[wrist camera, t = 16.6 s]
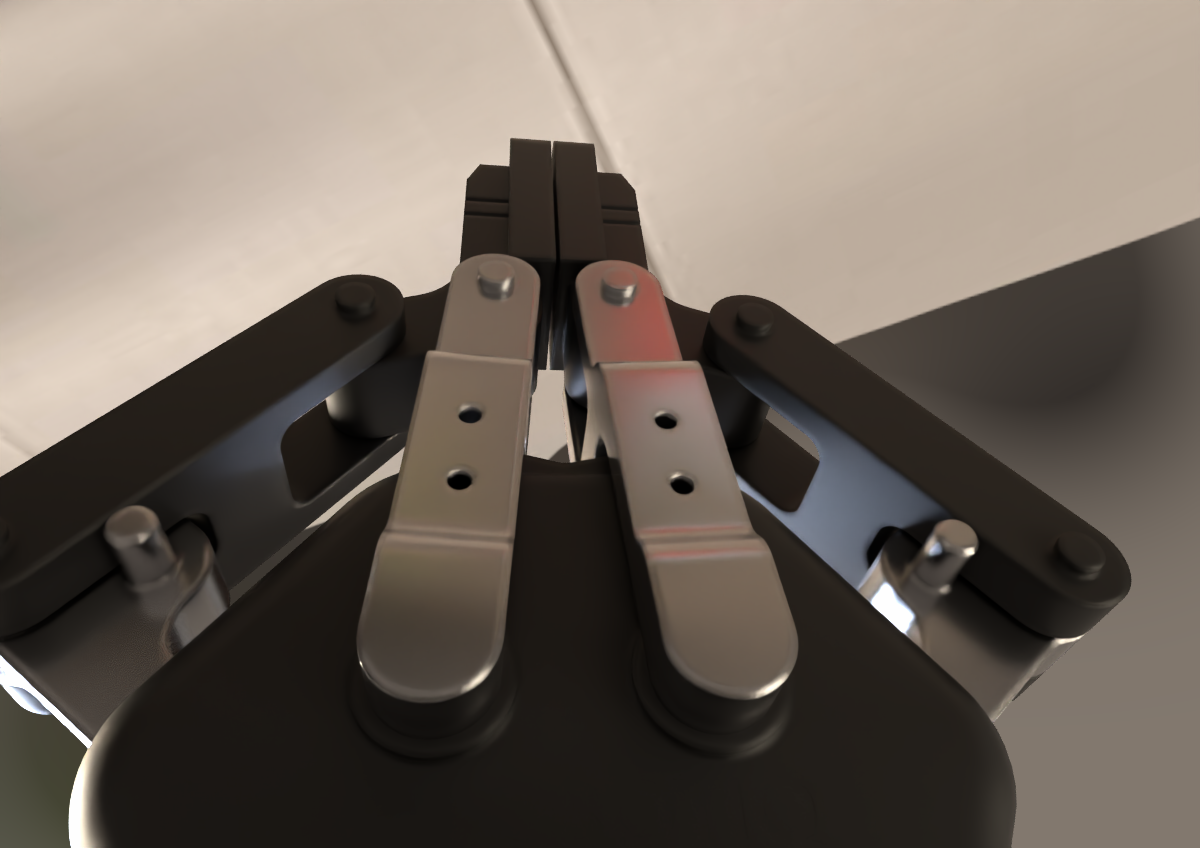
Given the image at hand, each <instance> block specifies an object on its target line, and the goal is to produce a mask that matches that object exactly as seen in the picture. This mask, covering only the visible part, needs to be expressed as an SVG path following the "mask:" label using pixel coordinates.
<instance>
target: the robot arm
mask: <svg viewBox="0 0 1200 848" xmlns="http://www.w3.org/2000/svg"><path fill="white" fill-rule="evenodd" d="M548 343H549V354H550V370H564V389H563V398H562V410H563V417H564V424H565V430H566V437H567V444H568V451H569V457H570V463H560V462H555V461H550V460H546V459H542V458H537V457H533V456H528V455H527V446H528V435H529V425H530V414H531V403H532V395H533V393H534V392H535V389H536V386H537V375H538V370H546V366H547V354H548ZM324 399H325V400H324ZM323 400H324V401H323ZM321 401H323V402H321ZM320 402H321V403H320ZM319 403H320V404H319ZM317 404H318V405H317ZM316 405H317V406H316ZM314 406H316V407H314ZM313 407H314V408H313ZM769 407H771V408H773V409H774V410H775V411H776V412H778V413H779V414H780V415H781V416H783V417H784V418H785V419H787V420H788V421H789V422H791V423H792V424H793V425H794V426H796V427H797V428H798V429H800V430H801V431H802V432H803V433H805V434H806V435H807V436H808V437H809V438H810V439H811V440H812V441H813V442H814V444H815V446H816V447H817V450H818V452H819V457H820V461H818V460H817V459H816V458H814V457H813V456H812V455H811V454H810V453H808V452H807V451H806V450H804V449H803V448H802V447H801V446H799V445H798V444H797V443H796V442H794V441H793V440H792V439H791V438H789V437H788V436H787V435H785V434H784V433H783V432H782V431H781V430H779V429H778V428H777V427H775V426H774V425H773V424H772V423H770V422H769V421H768V420H767V419H765V418H766V415H767V413H768V410H769ZM312 408H313V409H312ZM310 409H311V410H310ZM309 410H310V411H309ZM307 411H309V412H307ZM306 412H307V413H306ZM305 413H306V414H305ZM303 414H304V415H303ZM302 415H303V416H302ZM300 416H302V417H300ZM299 417H300V418H299ZM298 418H299V419H298ZM296 419H297V420H296ZM295 420H296V421H295ZM404 447H405V449H404V454H403V458H402V463H401V467H400V471H399V473H397V474H395V475H392V476H390V477H387V478H385V479H383V480H381V481H379V482H377V483H375V484H373V485H371V486H370V487H368V488H366V489H365V490H363V491H362V492H361V493H359V494H358V495H356V496H355V497H354V498H352V499H351V500H350V501H349V502H348V503H346V504H345V505H344V506H343V507H342V508H341V509H340V510H338V511H337V512H336V513H335V514H334V515H333V516H332V517H331V518H329V519H328V520H327V521H326V522H325V523H324V524H323V525H322V526H321V527H319V528H318V529H317V530H316V531H315V532H314V533H313V534H311V535H310V536H309V537H308V538H307V539H306V540H305V541H303V543H302V544H300V545H299V546H298V547H297V548H296V549H294V550H293V551H292V552H291V553H290V554H289V555H288V556H287V557H285V558H284V559H283V560H282V561H281V562H280V563H279V564H278V565H277V566H275V567H274V568H273V569H272V570H271V571H270V572H268V573H267V574H266V575H265V576H264V577H263V578H262V579H261V580H259V581H258V582H257V583H256V584H255V585H254V586H253V587H252V588H250V589H249V590H248V591H247V592H246V593H245V594H244V595H242V597H240V598H239V599H238V600H237V601H236V602H235V603H233V604H232V605H231V606H230V593H229V591H230V590H231V589H232V588H233V587H234V586H236V585H237V584H238V583H239V582H241V581H242V580H243V579H244V578H245V577H247V576H248V575H249V574H250V573H251V572H253V571H254V570H255V569H256V568H257V567H259V566H260V565H261V564H262V563H264V562H265V561H266V560H267V559H269V558H270V557H271V556H272V555H273V554H275V553H276V552H277V551H278V550H280V549H281V548H282V547H283V546H284V545H286V544H287V543H288V542H289V541H291V540H292V539H293V538H294V537H295V536H296V535H298V534H299V533H300V532H301V531H303V530H304V529H305V528H306V527H308V526H309V525H310V524H311V523H312V522H314V521H315V520H316V519H317V518H319V517H320V516H321V515H322V514H323V513H325V512H326V511H327V510H328V509H330V508H331V507H332V506H333V505H334V504H336V503H337V502H338V501H339V500H341V499H342V498H343V497H344V496H345V495H347V494H348V493H349V492H350V491H352V490H353V489H354V488H355V487H356V486H358V485H359V484H360V483H361V482H362V481H364V480H365V479H366V478H367V477H369V476H370V475H371V474H372V473H373V472H375V471H376V470H377V469H378V468H380V467H381V466H382V465H383V464H384V463H386V462H387V461H388V460H389V459H391V458H392V457H393V456H394V455H395V454H397V453H398V452H399V451H400V450H401V449H403V448H404ZM1130 587H1131V573H1130V570H1129V567H1128V564H1127V562H1126V560H1125V558H1124V557H1123V555H1122V554H1121V552H1120V551H1119V550H1118V548H1117V547H1116V546H1115V545H1114V544H1113V543H1112V542H1111V541H1110V540H1109V539H1108V538H1107V537H1106V536H1105V535H1103V534H1102V533H1101V532H1099V531H1098V530H1097V529H1095V528H1094V527H1092V526H1091V525H1090V524H1088V523H1087V522H1085V521H1084V520H1083V519H1081V518H1080V517H1078V516H1077V515H1075V514H1074V513H1072V512H1071V511H1070V510H1068V509H1067V508H1065V507H1064V506H1063V505H1061V504H1060V503H1058V502H1057V501H1056V500H1054V499H1053V498H1051V497H1050V496H1048V495H1047V494H1046V493H1044V492H1042V491H1041V490H1040V489H1038V488H1037V487H1036V486H1034V485H1033V484H1031V483H1030V482H1029V481H1027V480H1026V479H1024V478H1023V477H1021V476H1020V475H1019V474H1017V473H1016V472H1014V471H1013V470H1012V469H1010V468H1009V467H1007V466H1006V465H1004V464H1003V463H1001V462H1000V461H999V460H997V459H996V458H994V457H993V456H992V455H990V454H989V453H987V452H986V451H985V450H983V449H982V448H980V447H979V446H977V445H976V444H975V443H973V442H972V441H970V440H969V439H968V438H966V437H965V436H963V435H962V434H960V433H959V432H957V431H956V430H955V429H953V428H952V427H950V426H949V425H948V424H946V423H945V422H943V421H942V420H941V419H939V418H938V417H936V416H935V415H933V414H932V413H931V412H929V411H928V410H926V409H925V408H923V407H922V406H921V405H919V404H918V403H916V402H915V401H914V400H912V399H911V398H909V397H908V396H906V395H905V394H904V393H902V392H901V391H899V390H898V389H896V388H895V387H894V386H892V385H891V384H889V383H888V382H886V381H885V380H884V379H882V378H881V377H879V376H878V375H877V374H875V373H874V372H872V371H871V370H869V369H868V368H867V367H865V366H864V365H862V364H861V363H860V362H858V361H857V360H855V359H854V358H852V357H851V356H850V355H848V354H847V353H845V352H844V351H842V350H841V349H840V348H838V347H837V346H835V345H834V344H833V343H831V342H830V341H828V340H827V339H826V338H824V337H823V336H821V335H820V334H818V333H817V332H816V331H814V330H813V329H811V328H810V327H808V326H807V325H806V324H804V323H803V322H801V321H800V320H799V319H797V318H796V317H794V316H793V315H791V314H790V313H789V312H787V311H786V310H784V309H783V308H782V307H780V306H778V305H777V304H775V303H773V302H771V301H769V300H766V299H763V298H760V297H756V296H749V295H736V296H730V297H726V298H724V299H721V300H720V301H718V302H717V303H716V304H715V305H714V306H713V307H712V309H711V311H710V313H707V312H703V311H699V310H696V309H692V308H689V307H686V306H683V305H680V304H678V303H675V302H673V301H672V300H670V299H668V298H667V297H665V296H664V295H663V291H662V288H661V285H660V283H659V281H658V280H657V278H656V277H655V276H654V275H653V274H652V273H651V272H649V271H648V266H647V260H646V254H645V248H644V242H643V236H642V230H641V226H640V218H639V212H638V206H637V200H636V193H635V190H634V189H633V187H632V186H631V185H630V184H629V183H628V181H627V180H626V179H625V178H624V177H623V176H622V174H616V173H601V172H597V165H596V156H595V147H594V144H588V143H574V142H560V141H554V143H553V150H552V157H551V141H545V140H531V139H517V138H511V139H510V164H509V166H496V165H481V164H480V165H479V166H478V167H477V169H476V170H475V171H474V172H473V173H472V174H471V175H470V177H469V178H468V179H467V185H466V197H465V209H464V221H463V233H462V245H461V257H460V264H459V265H458V266H457V267H456V268H455V270H454V271H453V274H452V277H451V281H450V282H449V283H448V284H446V285H445V286H443V287H442V288H439V289H437V290H435V291H432V292H429V293H426V294H421V295H416V296H410V297H405V298H403V296H402V294H401V292H400V290H399V289H398V288H397V287H396V286H395V285H393V284H392V283H390V282H389V281H387V280H384V279H382V278H379V277H375V276H370V275H361V274H360V275H346V276H341V277H337V278H334V279H331V280H328V281H326V282H325V283H323V284H321V285H319V286H318V287H316V288H314V289H313V290H311V291H309V292H308V293H306V294H304V295H303V296H301V297H299V298H298V299H296V300H294V301H293V302H291V303H289V304H288V305H286V306H284V307H283V308H281V309H279V310H278V311H276V312H274V313H273V314H271V315H269V316H268V317H266V318H264V319H263V320H261V321H259V322H258V323H256V324H254V325H253V326H251V327H249V328H248V329H246V330H244V331H243V332H241V333H239V334H238V335H236V336H234V337H233V338H231V339H229V340H228V341H226V342H224V343H223V344H221V345H219V346H218V347H216V348H214V349H213V350H211V351H209V352H208V353H206V354H204V355H203V356H201V357H199V358H198V359H196V360H194V361H193V362H191V363H189V364H188V365H186V366H184V367H183V368H181V369H179V370H178V371H176V372H175V373H173V374H171V375H170V376H168V377H166V378H165V379H163V380H161V381H160V382H158V383H156V384H155V385H153V386H151V387H150V388H148V389H146V390H145V391H143V392H141V393H140V394H138V395H136V396H135V397H133V398H131V399H130V400H128V401H126V402H125V403H123V404H121V405H120V406H118V407H116V408H115V409H113V410H111V411H110V412H108V413H106V414H105V415H103V416H101V417H100V418H98V419H96V420H95V421H93V422H91V423H90V424H88V425H86V426H85V427H83V428H81V429H80V430H78V431H76V432H75V433H73V434H71V435H70V436H68V437H66V438H65V439H63V440H61V441H60V442H58V443H56V444H55V445H53V446H51V447H50V448H48V449H46V450H45V451H43V452H41V453H40V454H38V455H36V456H35V457H33V458H31V459H30V460H28V461H26V462H25V463H23V464H21V465H20V466H18V467H16V468H15V469H13V470H11V471H10V472H8V473H6V474H5V475H3V476H1V477H0V684H1V685H2V686H3V687H4V688H5V689H6V690H7V692H8V693H9V694H10V695H11V696H12V697H13V698H14V699H15V701H16V702H18V703H19V704H20V705H21V706H22V707H24V708H25V709H27V710H29V711H32V712H35V713H39V714H54V715H55V716H56V717H57V718H58V719H59V720H60V721H61V722H62V723H63V724H64V725H65V726H66V727H68V728H69V729H70V730H71V731H72V732H73V733H74V734H75V735H76V736H77V737H78V738H79V739H80V740H81V741H82V742H83V743H84V744H85V745H86V746H87V747H88V750H87V752H86V754H85V756H84V758H83V760H82V763H81V765H80V767H79V770H78V773H77V776H76V779H75V783H74V787H73V791H72V796H71V801H70V810H69V834H70V835H69V836H70V842H71V848H1011V844H1012V836H1013V828H1014V822H1015V814H1016V786H1015V780H1014V775H1013V770H1012V766H1011V763H1010V760H1009V757H1008V754H1007V751H1006V748H1005V745H1004V743H1003V741H1002V739H1001V737H1000V735H999V733H998V731H997V729H996V728H995V726H994V724H993V723H994V721H995V720H996V719H997V718H998V717H999V715H1000V714H1001V713H1002V712H1003V710H1004V709H1005V708H1006V707H1007V706H1008V704H1009V703H1010V702H1011V701H1013V700H1015V699H1016V698H1017V697H1018V696H1019V695H1020V694H1021V693H1023V692H1024V691H1025V690H1026V689H1027V688H1028V687H1029V686H1030V685H1031V684H1032V683H1033V682H1034V681H1036V680H1037V679H1038V678H1039V677H1040V676H1041V675H1042V674H1043V673H1044V672H1045V671H1046V670H1047V669H1048V668H1050V667H1051V666H1052V665H1053V664H1054V663H1055V662H1056V661H1057V660H1058V659H1059V658H1060V657H1061V656H1062V655H1063V654H1064V653H1066V652H1067V651H1068V650H1069V649H1070V648H1071V647H1072V646H1073V645H1074V644H1075V643H1076V642H1077V641H1079V640H1080V639H1081V638H1082V637H1083V636H1084V635H1085V634H1086V633H1087V632H1088V631H1089V630H1090V629H1091V628H1092V627H1093V626H1095V625H1096V624H1097V623H1098V622H1099V621H1100V620H1101V619H1102V618H1103V617H1104V616H1105V615H1106V614H1108V613H1109V612H1110V611H1111V610H1112V609H1113V608H1114V607H1115V606H1116V605H1117V604H1118V603H1119V602H1120V601H1121V600H1123V599H1124V598H1125V596H1126V595H1127V594H1128V592H1129V590H1130Z"/></svg>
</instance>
